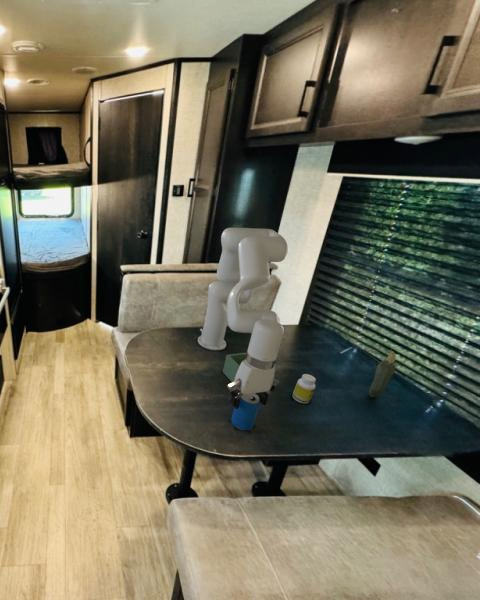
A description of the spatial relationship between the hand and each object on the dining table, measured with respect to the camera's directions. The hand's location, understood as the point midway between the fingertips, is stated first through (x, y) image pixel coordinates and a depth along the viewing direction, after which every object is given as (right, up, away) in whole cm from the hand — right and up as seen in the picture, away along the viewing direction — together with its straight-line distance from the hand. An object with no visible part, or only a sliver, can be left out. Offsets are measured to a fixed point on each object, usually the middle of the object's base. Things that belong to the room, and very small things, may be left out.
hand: (247, 403), depth 100 cm
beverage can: (0, -8, +4) cm, 9 cm away
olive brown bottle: (+54, -3, +15) cm, 56 cm away
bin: (+12, +1, +25) cm, 28 cm away
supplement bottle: (+27, -3, +15) cm, 31 cm away
